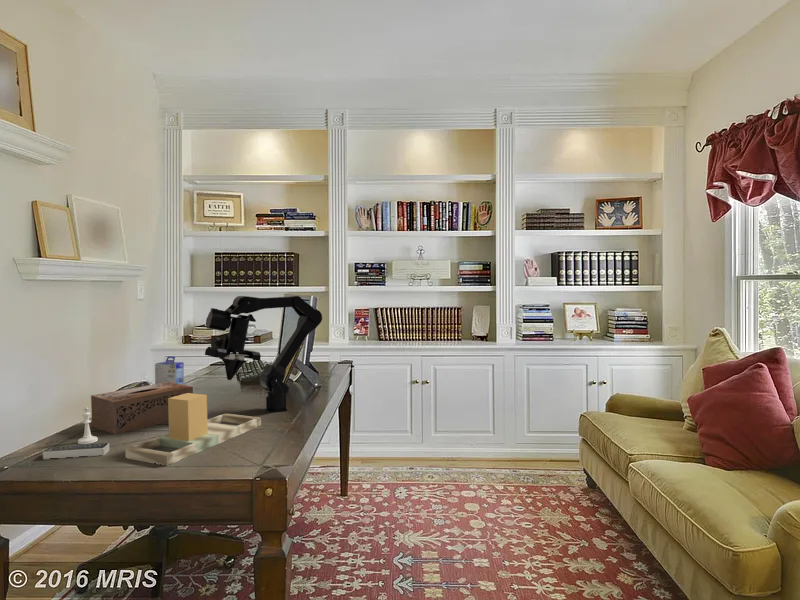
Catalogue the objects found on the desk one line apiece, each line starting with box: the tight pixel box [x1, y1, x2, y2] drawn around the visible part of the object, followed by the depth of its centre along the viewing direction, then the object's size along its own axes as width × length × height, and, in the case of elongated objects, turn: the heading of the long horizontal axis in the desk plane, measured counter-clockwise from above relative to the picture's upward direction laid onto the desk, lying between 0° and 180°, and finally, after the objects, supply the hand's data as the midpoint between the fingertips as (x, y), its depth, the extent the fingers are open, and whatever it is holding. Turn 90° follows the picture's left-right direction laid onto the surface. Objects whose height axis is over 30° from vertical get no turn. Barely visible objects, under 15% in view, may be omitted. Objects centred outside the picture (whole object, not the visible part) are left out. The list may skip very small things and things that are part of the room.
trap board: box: [125, 413, 262, 466], centre depth 148 cm, size 37×14×2 cm, turn 158°
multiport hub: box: [42, 442, 110, 460], centre depth 137 cm, size 4×14×2 cm, turn 102°
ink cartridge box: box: [154, 356, 185, 385], centre depth 209 cm, size 10×6×14 cm, turn 78°
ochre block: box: [168, 392, 208, 441], centre depth 144 cm, size 7×7×11 cm
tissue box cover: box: [90, 382, 194, 435], centre depth 169 cm, size 26×14×10 cm, turn 144°
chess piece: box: [77, 405, 99, 445], centre depth 147 cm, size 5×5×10 cm
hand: (229, 379), depth 172 cm, fingers closed
